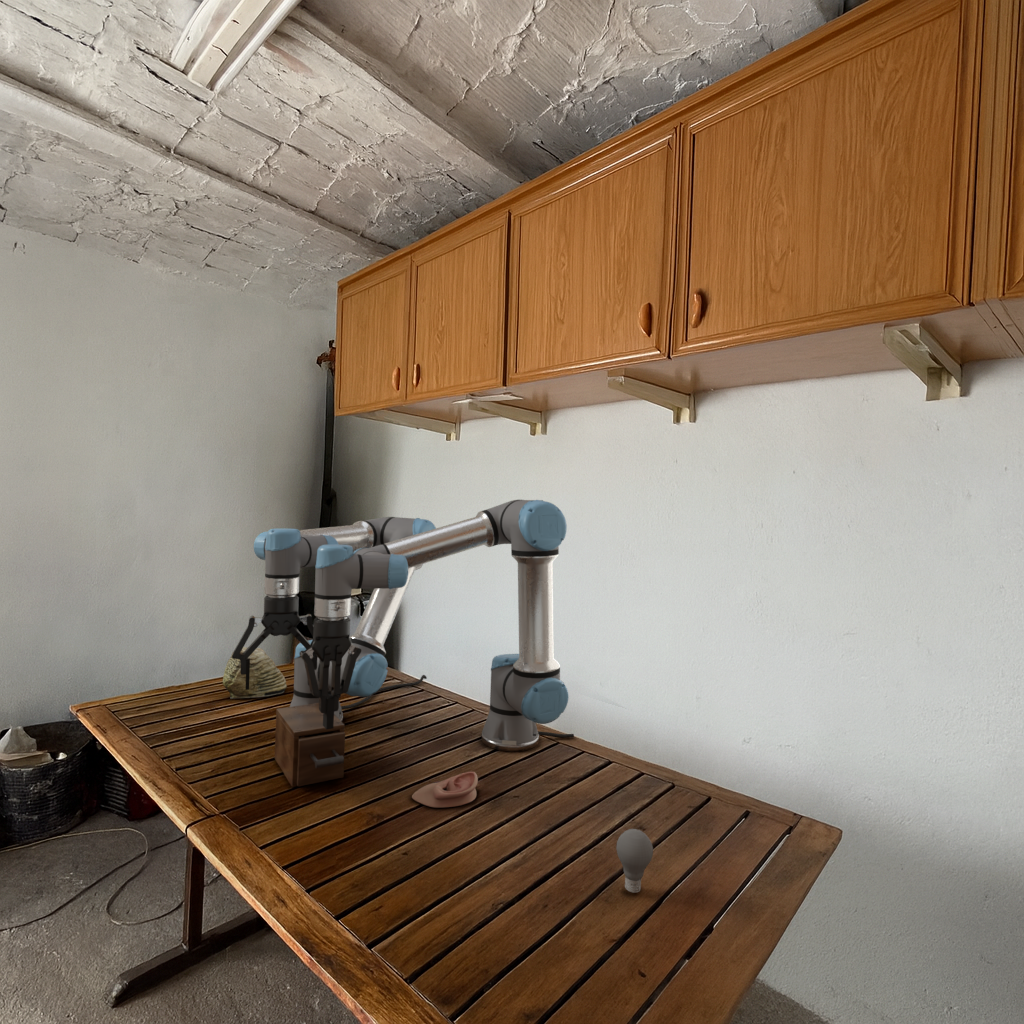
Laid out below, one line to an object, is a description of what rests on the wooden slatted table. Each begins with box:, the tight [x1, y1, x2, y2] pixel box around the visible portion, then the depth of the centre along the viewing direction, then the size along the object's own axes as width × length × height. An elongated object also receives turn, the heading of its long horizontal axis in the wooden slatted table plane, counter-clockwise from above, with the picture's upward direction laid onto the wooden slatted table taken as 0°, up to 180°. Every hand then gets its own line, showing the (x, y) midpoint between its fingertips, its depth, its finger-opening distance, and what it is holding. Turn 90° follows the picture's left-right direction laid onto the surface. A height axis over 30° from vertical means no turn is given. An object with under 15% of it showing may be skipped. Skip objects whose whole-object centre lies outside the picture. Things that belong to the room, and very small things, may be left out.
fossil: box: [222, 646, 288, 699], centre depth 198 cm, size 9×18×15 cm, turn 132°
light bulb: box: [615, 828, 654, 894], centre depth 106 cm, size 6×6×10 cm
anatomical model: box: [411, 771, 479, 809], centre depth 136 cm, size 13×4×12 cm
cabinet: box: [274, 703, 345, 788], centre depth 148 cm, size 17×11×12 cm, turn 33°
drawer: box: [296, 731, 346, 788], centre depth 142 cm, size 22×10×10 cm, turn 33°
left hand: (279, 686), depth 147 cm, fingers open, 13 cm apart
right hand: (328, 726), depth 135 cm, fingers closed
